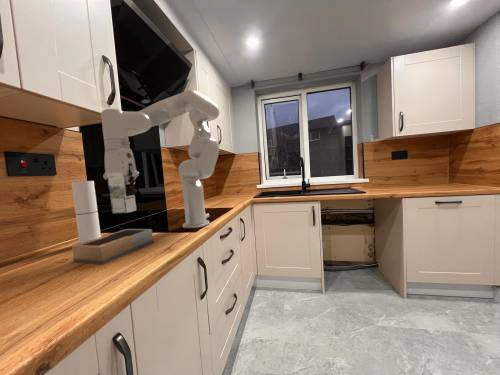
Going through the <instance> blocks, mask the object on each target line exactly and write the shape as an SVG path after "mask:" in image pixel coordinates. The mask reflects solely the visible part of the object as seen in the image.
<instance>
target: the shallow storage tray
mask: <svg viewBox="0 0 500 375" xmlns="http://www.w3.org/2000/svg"><path fill="white" fill-rule="evenodd" d="M153 243H154V238H153V229H151V228H126V229H122V230H120V231H117V232H113V233H109V234H107V235H103V236H101V237H99V238H96V239H93V240H90V241H87V242H83V243H80V244H79V243H78V244H74V245H72V246H71V249H72V257H73V258H72V262H73V263H84V264H97V265H98V264H99V265H105V264H107V263H109V262H112V261H114V260H117V259H118V258H120V257H121V258H122V257H123V256H125V255H127V254H130V253H133V252H135V251H137V250H140V249H142V248H144V247H147V246H148V245H151V244H153Z"/></svg>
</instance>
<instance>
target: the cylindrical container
mask: <svg viewBox="0 0 500 375" xmlns="http://www.w3.org/2000/svg"><path fill="white" fill-rule="evenodd" d="M71 190H72V191H71V192H72V199H73V206H74V213H75V221H76V229H77V237H78V244H80V243H83V242H87V241H90V240H93V239H96V238H99V237H102V236H101V228H100V227H101V226H100V219H99V213H98V212H99V211H98V204H97V195H96V188H95V181H94V180H85V181H72V182H71Z"/></svg>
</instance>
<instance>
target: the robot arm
mask: <svg viewBox="0 0 500 375" xmlns="http://www.w3.org/2000/svg"><path fill="white" fill-rule="evenodd" d="M187 113H188V117H189V120H190V122H191V124H192V126H193V129H194V130H193V135H192V137H191V140H190V143H189V145H188V146H189V147H188V150H187V153H188V157H189V158H190V159H186V160H184V161H182V162H181V163H180V164H179V166H178V168H177V169H178V175H179V179H180V182H181V187H182V199H183V208H184V215H185V216H184V217H185V222H184V223H183V224H182V228H184V229H196V228H203V227H206V226H209V225H210V220H208V218H210V214H209V213H206V209H205V208H206V207H205V197H204V196H205V195H204V186H203V183H202V181H201V180H203V179H208V178H210V177H212V175H213V173H214V171H215V168H216V164H217V161H218V158H219V153H220V147H219V144H218V142H217V140H216V139H214V138H213V137H212V132H211V130H210V128H209V127H208V125H207V122H211V121H215V120H217V118H219V115H220V108H219V107H218V105H217V104H216V103H215V102H214V101H213V100H211V99H210V98H209V97H207V96H205V95H204V94H202V93H201V92H198V91H197V90H194V89H187V90H185V91H183V92H180V93H177V94H176V95H172V96H170V97H167V98H165V99H162V100H159V101H157V102H155V103H153V104H151V105H149V106H147V107H145V108H143V109H141V110H138V111H129V110H128V111H124V110H121V109H117V108H105V109H103V110H102V111H101V113H100V115H101V116H100V118H101V127H102V134H103V143H104V171H105V172H104V173H103V175H102V177H103V179H104V180H105V182H106V183H107V186H108V187H109V181H108V173H117V172H122V173H123V176H124V178H125V182H126V184H127V185H125V189H126V196H132V195H136V192H135V184H136V181H137V179H138V176H139V174H140V172H139V171H138V170H137V167H136V166H137V165H136V160H135V156H134V153H133V150H132V149H131V148H130V144H131V142H130V140H129V137H133V136H136V135H140V134H143V133H146V132H147V131H149V130H150V129H151V128H152V127H155V126H159V125H163V124H166V123H168V122H170V121H172V120H174V119H176V118H178V117H180V116H183V115H184V114H187ZM128 178H129V179H128Z"/></svg>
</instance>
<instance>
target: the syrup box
mask: <svg viewBox="0 0 500 375" xmlns="http://www.w3.org/2000/svg"><path fill="white" fill-rule="evenodd" d="M128 179H129V178H128ZM108 181H109V186H108V189H109V197H110V205H111V214H113V215H114V214H128V213H132V212H135V211H137V204H136V196H135V195H136V194H135V195H132V196H126V189H125V185H127V184H126V182H125V178H124V176H123V173H122V172H117V173H108Z"/></svg>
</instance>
